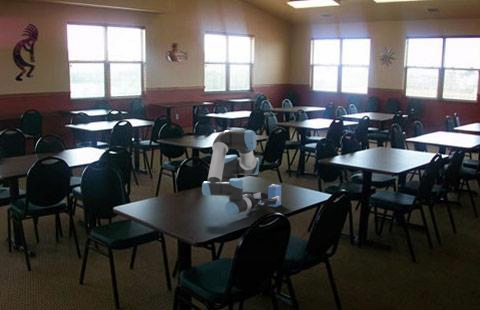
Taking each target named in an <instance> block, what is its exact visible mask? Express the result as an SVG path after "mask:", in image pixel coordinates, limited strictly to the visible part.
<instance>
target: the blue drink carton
mask: <svg viewBox="0 0 480 310" xmlns="http://www.w3.org/2000/svg"><path fill="white" fill-rule="evenodd" d="M267 189H268V191H267V195H268V196H267V199H272V198H274V197H277V196H279V201H277V202H276V204H274V205H267V206H268V207H272V208H276V207H279V206H281V205H282V185H280V184H275V183H271V185H269V186H268V187H267Z"/></svg>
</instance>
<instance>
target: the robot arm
mask: <svg viewBox="0 0 480 310" xmlns="http://www.w3.org/2000/svg"><path fill="white" fill-rule="evenodd" d="M211 148H212V155H211V160H210V166H209V171H208V176H207V181H203V182H202V184H201V185H202V186H201V192H202V195H203V196H208V197H209V196H214V197H215V196H219V197H228V202H227V203H226V204H225V205H224V210H225V213H226V214H227V215H228V216H231V217H232V216H237V215H239V214H241V213H245V212H247V211H251V210H254V209H255V208H256V207H257V206H260V207H264V206H268V205H274V204H276V202H277V201H279V196H277V197H274V198H272V199H268V198H262V196H261V193H262V192H261V191H260V192H256V193H253V192H250V193H246V194H247V195H246V197H244V198H243V195H244V181H243V179H241V178H238V175H241V176H242V175H244V176H258V174H259V171H260V170H259V169H260V158H259V157H256V156H255V155H254V150H255V149H256V148H257V135H256V132H255V131H254V130H251V129H244V130H242V129H226V130H223V131H222V132H221V133H219V134H218V135H217V136H216V137H215V138H214V140H213V143H212V146H211ZM229 150H236V151H237V153H239V157H238V155H237V154H229V155H226V154H227V153H228V151H229ZM250 194H251V195H250ZM258 197H261V198H259V199H258ZM260 200H261V202H260ZM256 205H257V206H256Z"/></svg>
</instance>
